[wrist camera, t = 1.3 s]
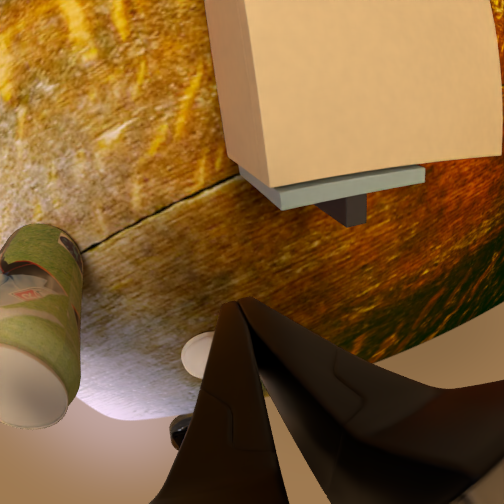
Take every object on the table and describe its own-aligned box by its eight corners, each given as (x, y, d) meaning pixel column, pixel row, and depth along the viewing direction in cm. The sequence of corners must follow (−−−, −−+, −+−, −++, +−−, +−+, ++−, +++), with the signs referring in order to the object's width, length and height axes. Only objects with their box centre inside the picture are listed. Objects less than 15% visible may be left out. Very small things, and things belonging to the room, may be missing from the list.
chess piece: (229, 375, 27) (262, 471, 18) (175, 371, 25) (193, 475, 16) (248, 334, 25) (292, 435, 16) (188, 327, 23) (213, 438, 15)
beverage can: (-3, 231, 16) (-97, 345, 6) (87, 200, 17) (14, 321, 7) (32, 307, 19) (-16, 442, 9) (117, 286, 20) (102, 439, 10)
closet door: (353, 180, 21) (422, 214, 15) (243, 202, 20) (285, 250, 14) (351, 144, 20) (425, 167, 14) (237, 162, 19) (279, 192, 12)
